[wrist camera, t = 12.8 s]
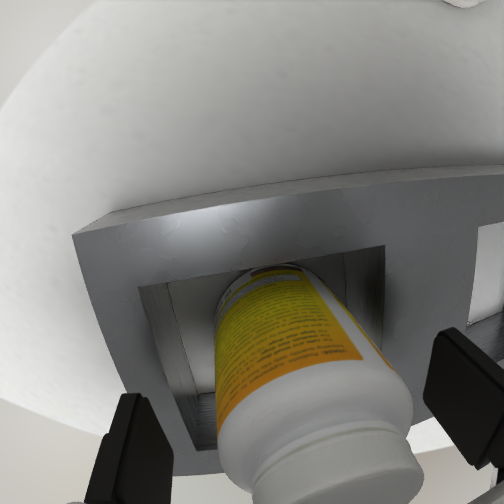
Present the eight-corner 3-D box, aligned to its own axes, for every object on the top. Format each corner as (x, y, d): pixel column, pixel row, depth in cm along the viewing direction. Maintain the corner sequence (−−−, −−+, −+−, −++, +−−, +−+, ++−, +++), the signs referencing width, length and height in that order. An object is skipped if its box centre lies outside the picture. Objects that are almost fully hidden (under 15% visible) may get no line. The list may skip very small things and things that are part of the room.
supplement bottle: (192, 335, 15) (178, 544, 5) (256, 235, 14) (343, 416, 4) (288, 379, 16) (346, 554, 6) (353, 294, 15) (487, 448, 5)
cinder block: (110, 212, 13) (71, 234, 9) (528, 164, 14) (574, 172, 10) (177, 422, 16) (172, 476, 12) (510, 328, 18) (544, 353, 14)
